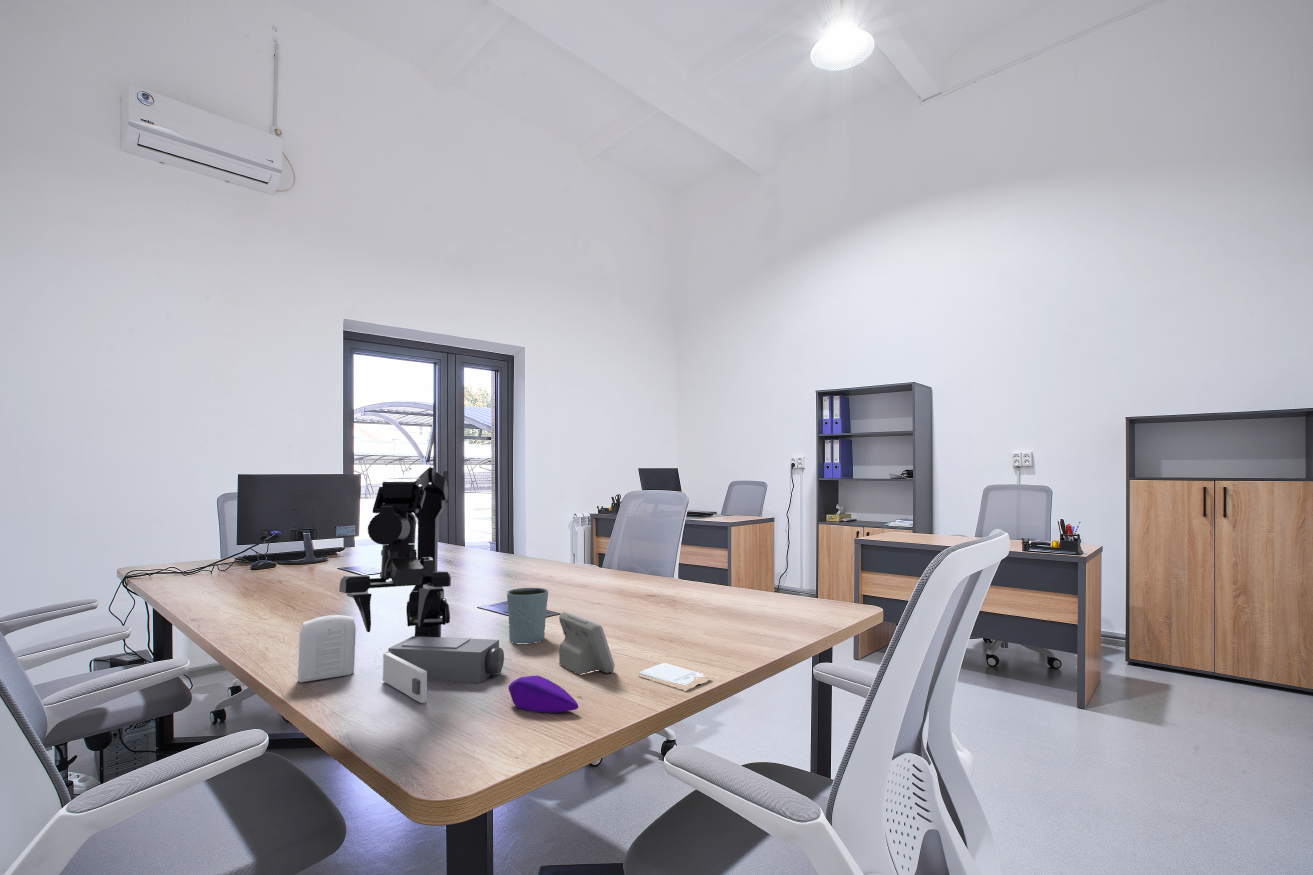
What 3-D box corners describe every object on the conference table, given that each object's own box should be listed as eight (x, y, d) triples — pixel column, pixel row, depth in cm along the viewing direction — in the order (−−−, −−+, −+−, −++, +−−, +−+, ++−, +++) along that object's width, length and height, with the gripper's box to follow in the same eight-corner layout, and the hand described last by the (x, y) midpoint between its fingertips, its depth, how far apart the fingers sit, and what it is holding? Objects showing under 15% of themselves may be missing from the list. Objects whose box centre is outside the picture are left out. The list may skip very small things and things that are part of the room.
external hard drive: (664, 669, 129) (711, 682, 120) (638, 679, 123) (685, 694, 114) (664, 661, 129) (711, 674, 120) (638, 671, 123) (685, 685, 114)
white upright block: (353, 669, 128) (354, 610, 129) (355, 674, 124) (357, 614, 125) (297, 678, 122) (298, 617, 123) (298, 684, 119) (299, 621, 119)
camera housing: (412, 663, 131) (412, 634, 131) (507, 668, 128) (508, 638, 128) (387, 677, 122) (388, 646, 123) (489, 683, 119) (490, 651, 119)
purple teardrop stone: (572, 697, 101) (501, 676, 108) (569, 726, 101) (498, 703, 108) (586, 688, 106) (517, 668, 112) (584, 715, 106) (515, 694, 112)
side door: (389, 678, 121) (390, 650, 122) (429, 700, 109) (429, 670, 110) (378, 680, 120) (379, 653, 120) (417, 703, 108) (418, 673, 108)
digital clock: (617, 674, 124) (617, 622, 124) (575, 681, 120) (575, 627, 120) (591, 653, 138) (591, 606, 139) (553, 658, 134) (553, 610, 135)
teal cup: (499, 644, 146) (500, 594, 147) (516, 632, 156) (516, 586, 157) (539, 645, 144) (539, 595, 145) (553, 634, 154) (553, 587, 155)
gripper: (355, 545, 103) (350, 640, 100) (462, 542, 114) (459, 627, 112) (341, 545, 111) (335, 633, 109) (442, 543, 123) (439, 622, 120)
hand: (394, 628), depth 112 cm, fingers open, 9 cm apart
